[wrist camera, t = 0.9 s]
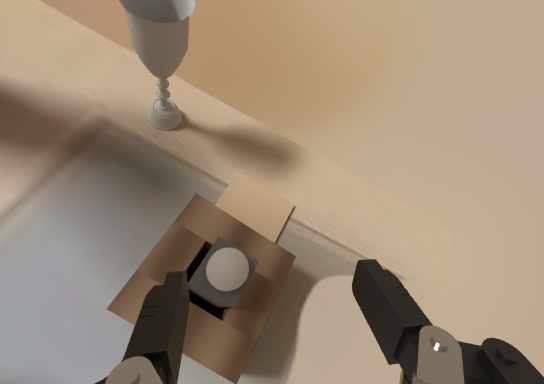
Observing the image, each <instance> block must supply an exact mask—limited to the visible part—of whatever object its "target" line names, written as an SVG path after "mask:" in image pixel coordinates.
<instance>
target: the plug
mask: <svg viewBox="0 0 544 384" xmlns="http://www.w3.org/2000/svg"><path fill="white" fill-rule="evenodd" d="M258 263H259V261H258V260H257V259H255V258H253V257H252V256H250V255H249V254H247V253H245V252H244V251H242V250H241V249H239V248H237V247H236V246H234V245H233V244H231V243H229V242H228V241H226V240H225V239H223V238H221V237H220V236H218V238H217V239H216V241H215V242H214V244H213V246H212V247H211V249H210V250H209V252H208V253H207V255H206V256H205V258H204V259H203V261H202V262H201V264H200V265H199V267H198V268H197V270H196V271H195V273H194V275H193V276H192V278H191V279H190V281H189V283H188V288H189V293H191V294H193V295H194V296H196V297H198V298H199V299H201V300H203V301H204V302H206V303H208V304H209V305H211V306H212V307H235V306H236V304H237V302H238V300H239V298H240V296H241V294H242V293H243V291H244V289H245V287H246V285H247V283H248V281H249V279H250V278H251V276H252V274H253V272H254V270H255V268H256V266H257V265H258Z"/></svg>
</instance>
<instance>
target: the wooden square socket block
mask: <svg viewBox="0 0 544 384" xmlns="http://www.w3.org/2000/svg"><path fill="white" fill-rule="evenodd" d="M218 236H220V237H221V238H223V239H225V240H226V241H228V242H229V243H231V244H233V245H234V246H236V247H237V248H239V249H241V250H242V251H244V252H245V253H247V254H249V255H250V256H252V257H253V258H255V259H257V260H258V261H259V263H258V265H257V266H256V268H255V270H254V272H253V274H252V276H251V278H250V279H249V281H248V283H247V285H246V287H245V289H244V291H243V293H242V294H241V296H240V298H239V300H238V302H237V304H236V306H235V307H222V308H221V310H220V312H219V314H218V316H217V317H215V316H213V315H211V314H210V313H208V312H206V311H205V310H203V309H201V308H200V307H198V306H196V305H195V304H193V303H191V302H190V305H189V313H188V319H187V326H186V332H185V338H184V344H183V350H182V353H183V354H185V355H187V356H188V357H190V358H192V359H193V360H195V361H197V362H199V363H200V364H202V365H204V366H205V367H207V368H209V369H211V370H212V371H214V372H216V373H217V374H219V375H221V376H223V377H224V378H226V379H228V380H229V381H231V382H233V383H235V384H237V382H238V380H239V377H240V375H241V373H242V371H243V369H244V367H245V364H246V362H247V360H248V358H249V356H250V354H251V352H252V349H253V347H254V345H255V343H256V341H257V339H258V336H259V334H260V332H261V330H262V328H263V326H264V324H265V321H266V319H267V317H268V315H269V313H270V311H271V309H272V306H273V304H274V302H275V300H276V298H277V296H278V293H279V291H280V289H281V287H282V285H283V283H284V281H285V278H286V276H287V274H288V272H289V270H290V268H291V265H292V263H293V261H294V259H295V257H296V256H294V255H293V254H291V253H289V252H288V251H286V250H285V249H283V248H282V247H280V246H278V245H277V244H275V243H274V242H272V241H270V240H269V239H267V238H266V237H264V236H263V235H261V234H259V233H258V232H256V231H255V230H253V229H251V228H250V227H248V226H247V225H245V224H244V223H242V222H240V221H239V220H237V219H236V218H234V217H232V216H231V215H229V214H228V213H226V212H225V211H223V210H221V209H220V208H218V207H217V206H215V205H213V204H212V203H210V202H209V201H207V200H206V199H204V198H202V197H201V196H199V195H198V194H196V195H195V196H194V197H193V199H192V200H191V201H190V202H189V204H188V205H187V206H186V208H185V209H184V210H183V211H182V213H181V214H180V215H179V217H178V218H177V219H176V220H175V222H174V223H173V224H172V226H171V227H170V228H169V229H168V231H167V232H166V233H165V235H164V236H163V237H162V238H161V240H160V241H159V242H158V244H157V245H156V246H155V247H154V249H153V250H152V251H151V253H150V254H149V255H148V257H147V258H146V259H145V260H144V262H143V263H142V264H141V266H140V267H139V268H138V269H137V271H136V272H135V273H134V275H133V276H132V277H131V278H130V280H129V281H128V282H127V284H126V285H125V286H124V287H123V289H122V290H121V291H120V293H119V294H118V295H117V296H116V298H115V299H114V300H113V302H112V303H111V304H110V305H109V307H108V308H107V309H108V310H109V311H111V312H113V313H115V314H116V315H118V316H120V317H121V318H123V319H125V320H127V321H128V322H130V323H132V324H133V325H135V324H136V321H137V319H138V316H139V313H140V310H141V309H142V304H143V301H144V299H145V296H146V294H147V293H148V292H149V291H150V290H151V289H152V287H153V286H154V285H164V281H165V278H166V274H167V272H174V271H186V273H187V272H188V270H189V269H190V267H191V266H192V264H193V263H194V261H195V260H196V258H197V257H198V255H199V254H200V252H201V251H203V252H205V253H208V252H209V250H210V249H211V247H212V246H213V244H214V242H215V241H216V239H217V238H218Z"/></svg>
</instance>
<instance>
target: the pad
mask: <svg viewBox="0 0 544 384" xmlns="http://www.w3.org/2000/svg"><path fill="white" fill-rule="evenodd" d="M215 206H217V207H218V208H220V209H221V210H223V211H225V212H226V213H228V214H229V215H231V216H232V217H234V218H236V219H237V220H239V221H240V222H242V223H244V224H245V225H247V226H248V227H250V228H251V229H253V230H255V231H256V232H258V233H259V234H261V235H263V236H264V237H266V238H267V239H269V240H270V241H272V242H274V243H275V241H276V239H277V237H278V235H279V233H280V232H281V230H282V228H283V226H284V224H285V222H286V220H287V218H288V216H289V214H290V212H291V211H292V209H293V207H294V205H293V204H292V203H290V202H289V201H287V200H286V199H284V198H282V197H281V196H279V195H278V194H276V193H275V192H273V191H272V190H270V189H269V188H267V187H265V186H264V185H262V184H261V183H259V182H258V181H256V180H255V179H253V178H252V177H250V176H248V175H247V174H245V173H244V172H242V171H241V170H239V172H238V173H237V175H236V176H235V177H234V179H233V180H232V182H231V183H230V184H229V186H228V187H227V189H226V190H225V191H224V193H223V194H222V196H221V197H220V198H219V200H218V201H217V203H216V204H215Z"/></svg>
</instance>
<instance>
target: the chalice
mask: <svg viewBox="0 0 544 384" xmlns="http://www.w3.org/2000/svg"><path fill="white" fill-rule="evenodd" d="M119 1H120V2H121V4H122V5H123V7H124V8H125V12H126V18H127V24H128V30H129V35H130V41H131V44H132V46H133V48H134V49H135V51H136V53H137V55H138V56H139V58H140V59H141V61H142V62H143V64H144V65H145V66H146V67H147V68H148V70H149V71H150V72H151V73H152V74H153V75H154V76H156V77H158V80H157V82H156V85H157V86H158V87H159V90H158V91H157V93H156V94H157V96H158V97H159V98H160V99H157V100H155V101H154V102H153V103H152V104H151V106H150V107H149V109H148V111H147V115H146V116H147V120H148V121H149V123H150V124H151V125H152V126H154V127H155V128H157V129H160V130H172V129H174V128H176V127H178V126H179V125H180V123H181V122H182V114H181V112H180V110H179V109H178V107H177V106H176V104H175V103H174V102H173V101H171V100H169V99H167V98H169V97H170V92H169V91H168V90H167V88H168V86H169V82H168V81H167V79H166V78H168V77H170V76H172V74H173V73H174V72H175V70H176V69H177V68H178V66H179V65H180V63H181V62H182V59H183V58H184V56H185V53H186V51H187V47H188V31H189V30H188V29H189V16H190V15H191V13H192V12H193V10H194V6H195V0H119Z"/></svg>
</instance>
